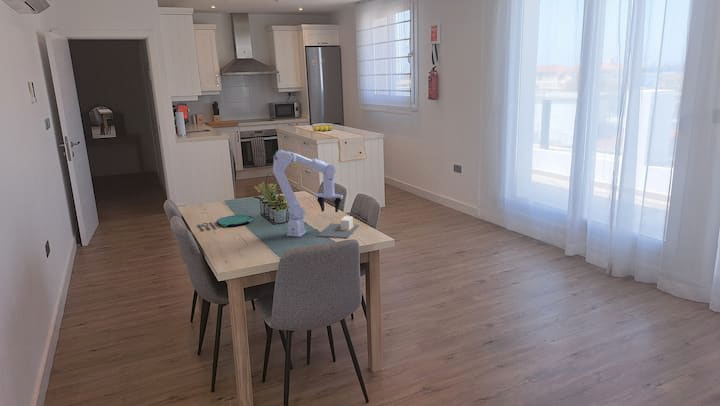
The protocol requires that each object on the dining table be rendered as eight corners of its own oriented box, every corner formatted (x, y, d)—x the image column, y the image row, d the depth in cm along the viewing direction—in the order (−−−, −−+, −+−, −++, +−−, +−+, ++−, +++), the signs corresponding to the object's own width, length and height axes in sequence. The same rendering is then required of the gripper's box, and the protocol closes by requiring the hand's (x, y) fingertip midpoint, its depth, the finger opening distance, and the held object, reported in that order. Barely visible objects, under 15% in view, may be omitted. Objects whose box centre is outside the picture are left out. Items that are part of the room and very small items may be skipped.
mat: (347, 238, 247) (347, 237, 247) (317, 236, 252) (317, 235, 251) (358, 225, 268) (358, 224, 268) (330, 224, 272) (330, 223, 272)
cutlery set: (257, 223, 277) (256, 220, 277) (202, 233, 264) (201, 229, 263) (247, 216, 294) (246, 212, 294) (195, 225, 281) (195, 221, 280)
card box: (352, 225, 267) (352, 216, 266) (349, 229, 259) (348, 220, 258) (344, 225, 268) (344, 216, 267) (340, 229, 260) (340, 220, 259)
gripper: (344, 185, 261) (345, 210, 265) (318, 184, 265) (319, 208, 268) (340, 188, 255) (341, 213, 258) (313, 187, 259) (315, 212, 262)
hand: (329, 211), depth 263 cm, fingers open, 7 cm apart
